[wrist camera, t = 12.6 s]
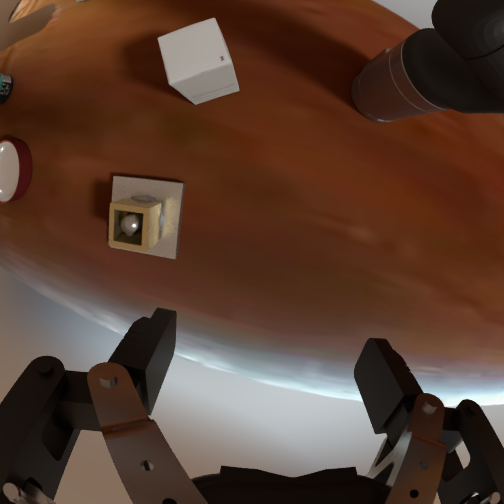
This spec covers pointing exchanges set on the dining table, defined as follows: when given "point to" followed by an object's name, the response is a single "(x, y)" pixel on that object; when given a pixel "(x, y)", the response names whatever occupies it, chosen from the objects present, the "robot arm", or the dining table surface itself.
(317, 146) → the dining table surface
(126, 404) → the robot arm
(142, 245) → the box
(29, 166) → the frying pan
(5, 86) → the beverage can
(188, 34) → the supplement box
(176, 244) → the shaft stand
